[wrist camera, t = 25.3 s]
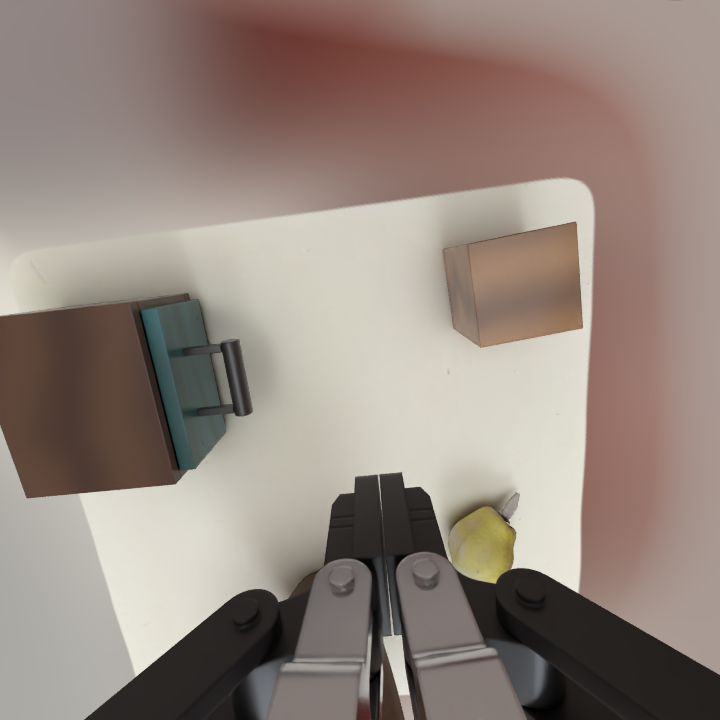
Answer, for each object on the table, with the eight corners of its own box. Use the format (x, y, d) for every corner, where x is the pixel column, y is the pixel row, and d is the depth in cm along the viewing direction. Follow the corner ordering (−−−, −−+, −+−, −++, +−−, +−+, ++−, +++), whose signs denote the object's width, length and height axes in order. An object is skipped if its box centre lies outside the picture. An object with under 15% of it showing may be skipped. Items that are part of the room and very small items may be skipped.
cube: (442, 249, 32) (467, 244, 25) (524, 232, 32) (576, 221, 24) (453, 329, 34) (480, 347, 26) (532, 313, 34) (583, 328, 26)
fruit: (537, 502, 38) (484, 583, 39) (483, 468, 39) (433, 548, 40) (555, 524, 32) (493, 619, 33) (491, 484, 34) (433, 577, 34)
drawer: (247, 293, 32) (218, 300, 26) (271, 427, 35) (250, 464, 29) (80, 312, 33) (9, 324, 26) (117, 442, 36) (62, 482, 29)
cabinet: (188, 293, 33) (129, 302, 25) (218, 434, 37) (176, 484, 28) (61, 307, 34) (-39, 321, 26) (102, 446, 37) (26, 498, 29)
